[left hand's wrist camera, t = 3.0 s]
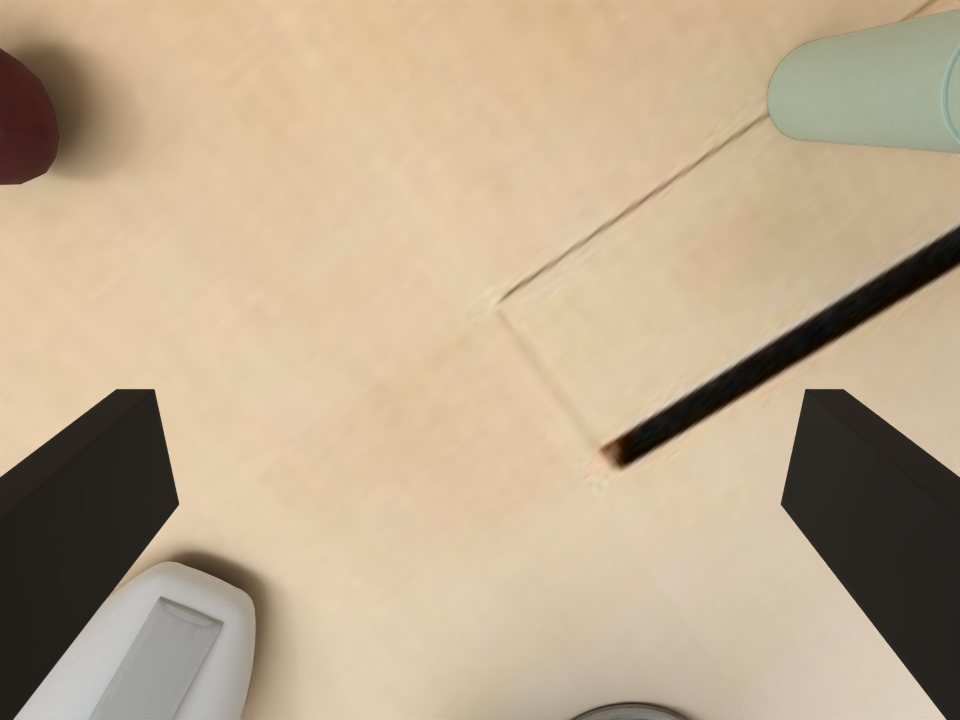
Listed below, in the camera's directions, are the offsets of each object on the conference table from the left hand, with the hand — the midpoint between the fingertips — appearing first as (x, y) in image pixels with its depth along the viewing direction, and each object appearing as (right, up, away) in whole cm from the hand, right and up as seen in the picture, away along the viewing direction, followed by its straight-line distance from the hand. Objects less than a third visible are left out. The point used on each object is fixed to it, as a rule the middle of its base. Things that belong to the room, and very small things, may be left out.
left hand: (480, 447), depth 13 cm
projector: (-27, -23, +39) cm, 53 cm away
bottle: (+19, +17, +23) cm, 35 cm away
